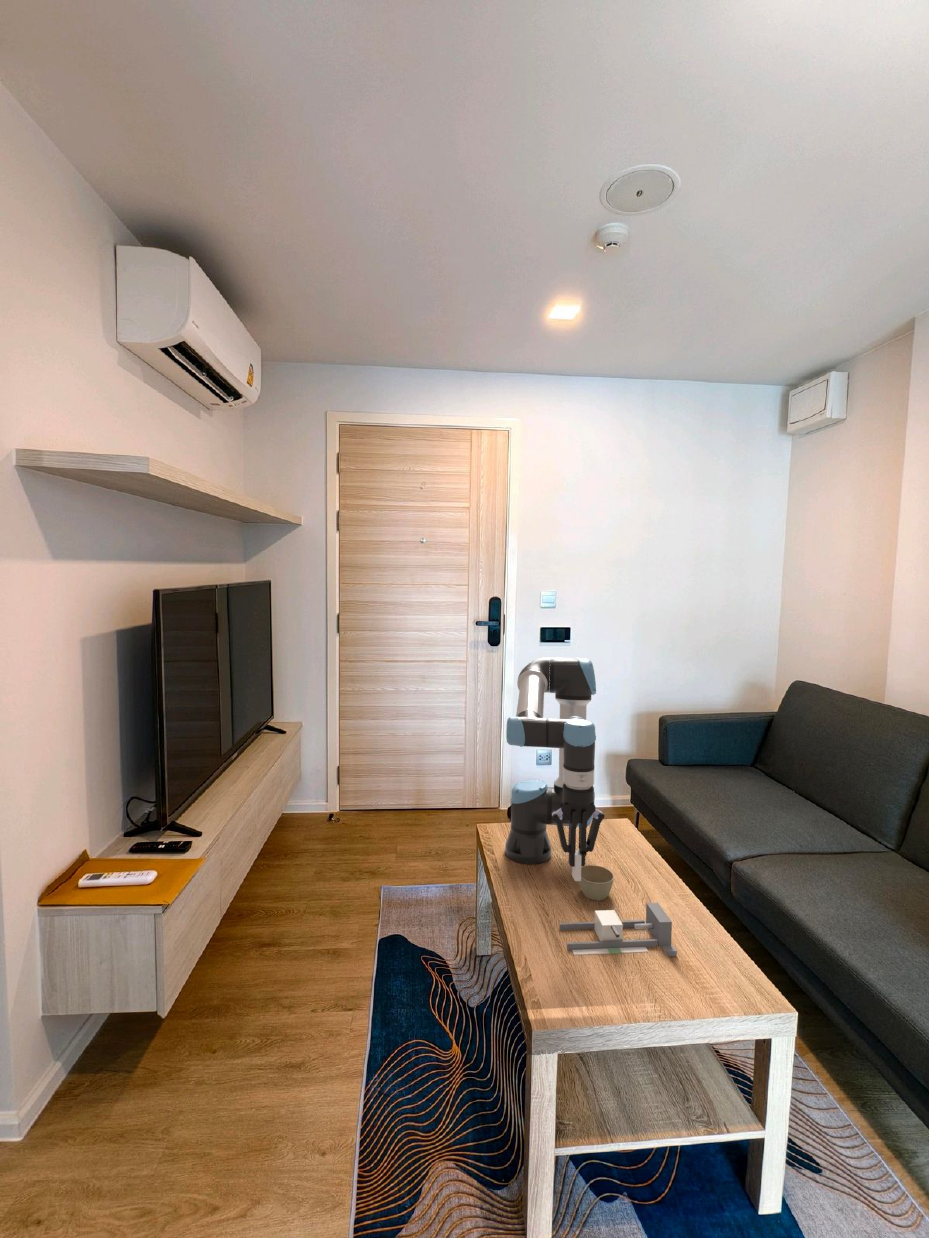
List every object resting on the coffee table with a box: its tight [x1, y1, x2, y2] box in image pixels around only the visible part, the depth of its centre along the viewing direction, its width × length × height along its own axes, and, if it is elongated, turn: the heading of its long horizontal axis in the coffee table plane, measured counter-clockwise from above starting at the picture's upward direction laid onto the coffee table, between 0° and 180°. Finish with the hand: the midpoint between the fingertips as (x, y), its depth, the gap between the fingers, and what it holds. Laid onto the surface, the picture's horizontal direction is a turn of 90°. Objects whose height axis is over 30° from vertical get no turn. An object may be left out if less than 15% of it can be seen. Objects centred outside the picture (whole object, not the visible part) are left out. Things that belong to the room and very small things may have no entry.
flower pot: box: [578, 864, 615, 901], centre depth 154 cm, size 10×10×7 cm
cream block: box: [594, 909, 624, 941], centre depth 134 cm, size 10×5×5 cm, turn 4°
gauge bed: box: [558, 902, 678, 957], centre depth 135 cm, size 12×28×7 cm, turn 94°
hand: (576, 878), depth 135 cm, fingers closed
